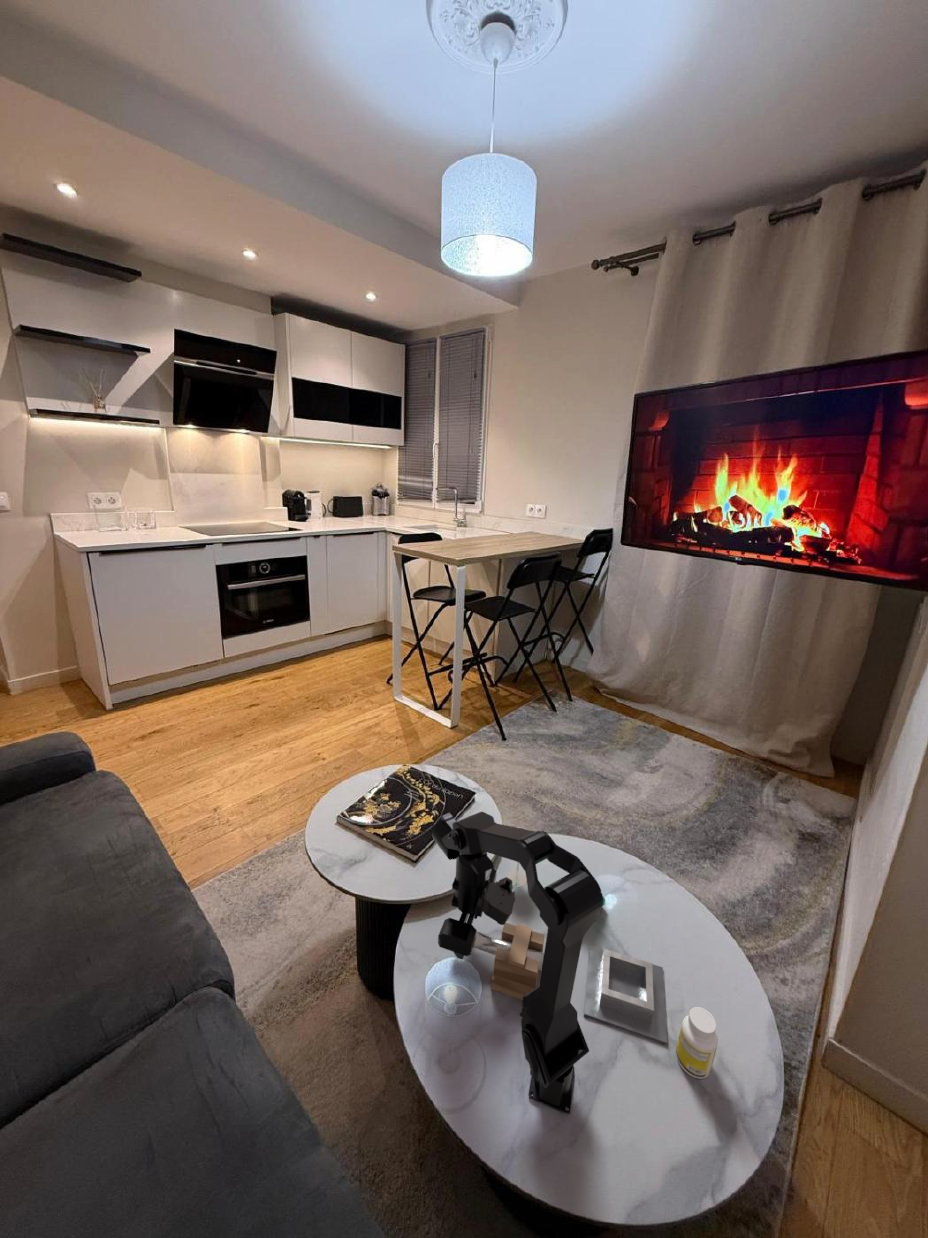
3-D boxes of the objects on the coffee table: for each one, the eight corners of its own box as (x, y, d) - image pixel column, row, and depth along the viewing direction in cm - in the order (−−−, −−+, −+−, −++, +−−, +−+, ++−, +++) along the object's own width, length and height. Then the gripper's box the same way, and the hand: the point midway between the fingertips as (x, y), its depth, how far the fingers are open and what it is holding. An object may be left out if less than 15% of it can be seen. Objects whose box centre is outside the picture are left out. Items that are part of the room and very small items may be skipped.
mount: (533, 1004, 90) (536, 975, 88) (491, 989, 92) (493, 960, 90) (542, 954, 99) (545, 927, 97) (503, 942, 101) (506, 915, 99)
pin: (543, 960, 95) (544, 949, 94) (540, 974, 92) (542, 963, 91) (457, 932, 100) (457, 921, 99) (452, 944, 97) (452, 933, 96)
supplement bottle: (692, 1037, 85) (702, 997, 82) (718, 1072, 81) (729, 1031, 78) (668, 1050, 83) (677, 1009, 80) (692, 1086, 79) (704, 1044, 76)
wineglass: (516, 862, 121) (520, 823, 118) (536, 880, 116) (541, 839, 113) (496, 876, 117) (499, 835, 114) (516, 895, 112) (520, 853, 109)
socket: (666, 1045, 84) (670, 1031, 83) (583, 1016, 88) (586, 1001, 87) (662, 969, 97) (665, 956, 96) (589, 947, 101) (591, 933, 100)
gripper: (500, 930, 81) (495, 997, 86) (522, 851, 98) (517, 910, 103) (437, 910, 85) (436, 976, 89) (470, 836, 102) (467, 895, 106)
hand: (467, 937), depth 97 cm, fingers open, 9 cm apart
